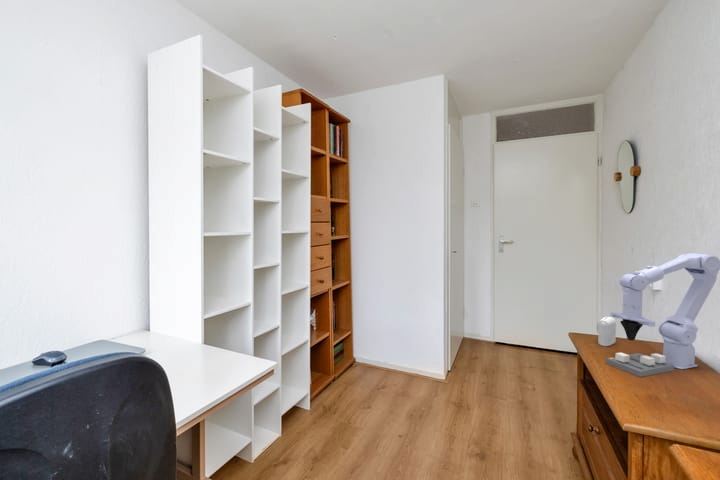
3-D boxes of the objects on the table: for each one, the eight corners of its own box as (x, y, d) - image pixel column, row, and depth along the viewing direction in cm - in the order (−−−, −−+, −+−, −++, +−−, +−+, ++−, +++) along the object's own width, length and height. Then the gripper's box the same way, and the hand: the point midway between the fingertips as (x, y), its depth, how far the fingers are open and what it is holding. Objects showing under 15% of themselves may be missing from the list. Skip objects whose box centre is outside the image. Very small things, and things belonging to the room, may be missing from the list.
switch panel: (641, 357, 132) (642, 351, 132) (677, 369, 120) (678, 363, 120) (605, 363, 126) (605, 357, 126) (639, 377, 115) (640, 370, 114)
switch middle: (645, 361, 122) (645, 355, 122) (654, 364, 119) (655, 358, 119) (640, 362, 121) (640, 356, 121) (649, 365, 118) (649, 359, 118)
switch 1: (621, 358, 125) (621, 352, 125) (629, 361, 122) (629, 355, 122) (615, 359, 124) (615, 353, 124) (623, 362, 121) (623, 356, 121)
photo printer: (605, 340, 152) (606, 314, 151) (616, 342, 148) (617, 316, 148) (596, 344, 146) (597, 317, 146) (607, 347, 143) (608, 319, 142)
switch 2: (656, 359, 124) (656, 353, 124) (665, 362, 121) (665, 356, 121) (650, 360, 123) (650, 354, 123) (659, 363, 120) (660, 357, 120)
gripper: (605, 301, 131) (604, 334, 131) (646, 310, 117) (644, 347, 118) (618, 300, 133) (617, 333, 133) (659, 309, 119) (658, 345, 120)
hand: (631, 339), depth 126 cm, fingers closed
